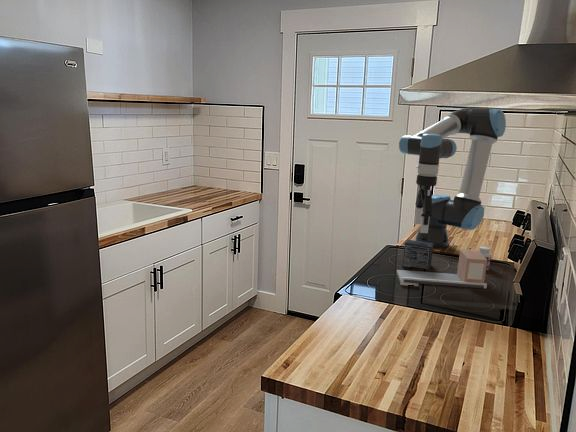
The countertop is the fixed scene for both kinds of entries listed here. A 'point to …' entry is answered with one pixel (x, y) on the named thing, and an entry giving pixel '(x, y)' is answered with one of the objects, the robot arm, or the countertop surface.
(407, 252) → the small box
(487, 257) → the pill bottle
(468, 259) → the faced carton
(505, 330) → the countertop surface
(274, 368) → the countertop surface
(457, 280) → the shelf
